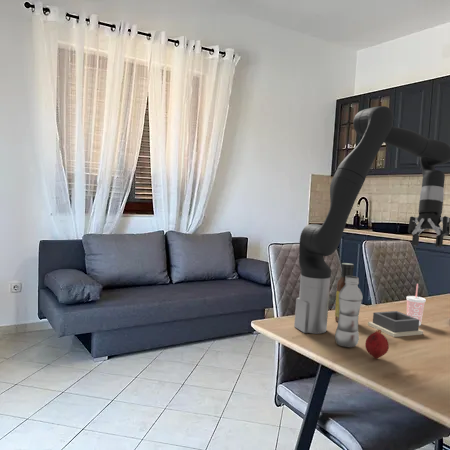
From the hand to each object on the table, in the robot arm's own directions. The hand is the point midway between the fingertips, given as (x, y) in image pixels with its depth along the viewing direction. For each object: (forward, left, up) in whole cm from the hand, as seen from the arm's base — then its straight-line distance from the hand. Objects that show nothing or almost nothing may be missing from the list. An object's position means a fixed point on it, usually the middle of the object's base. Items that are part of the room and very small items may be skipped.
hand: (426, 246), depth 151 cm
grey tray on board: (-16, -5, -27) cm, 32 cm away
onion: (-40, -24, -27) cm, 54 cm away
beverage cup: (-4, -1, -27) cm, 27 cm away
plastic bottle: (-42, -14, -27) cm, 52 cm away
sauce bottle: (-28, +6, -27) cm, 39 cm away
